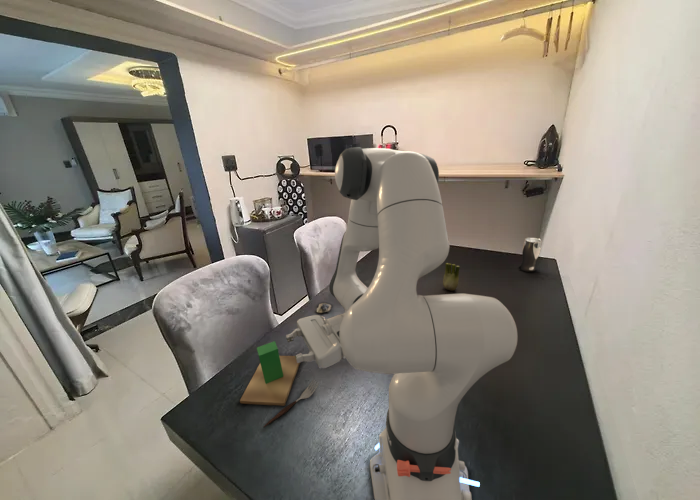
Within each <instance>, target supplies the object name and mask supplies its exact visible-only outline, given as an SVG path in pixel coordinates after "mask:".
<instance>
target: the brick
mask: <svg viewBox="0 0 700 500" xmlns="http://www.w3.org/2000/svg"><path fill="white" fill-rule="evenodd" d="M256 351H257V355H258V360H259V364H261V368H262V372H263V376H264V380H265V383H266V384H267V383H269V382H272V381H274V380H276V379H279V378H281V377H283V371H282V366H281V361H280V357H279V356H280V353H279V348H278V346H277V342H276V340H274V341H271V342H268V343H265V344H263V345H260V346H257V347H256Z"/></svg>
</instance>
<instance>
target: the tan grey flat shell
mask: <svg viewBox="0 0 700 500" xmlns="http://www.w3.org/2000/svg"><path fill="white" fill-rule="evenodd" d="M332 307H333V306H332V305H331V304H330V303H326V302H322V303H319V304H318V307H317V308H316V309H315V313H318V314H322V313H326V312H327V313H328V312H331V309H332Z"/></svg>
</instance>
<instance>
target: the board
mask: <svg viewBox="0 0 700 500" xmlns="http://www.w3.org/2000/svg"><path fill="white" fill-rule="evenodd" d="M295 356H296V355H279V357H280V361H281V366H282V371H283V377H281V378H279V379H276V380H274V381H272V382H269V383H267V384H266V383H265V380H264V376H263V372H262V368H261V364H260V363H259V365H258V366H257V368H256V370H255V372H254V373H253V375H252V377H251V379H250V380H249V383H248V384H247V386H246V388H245V390H244V392H243V394H242V395H241V398H240V399H239V404H244V405H264V406H283V407H286V403H287V401H288V398H289V396H290V392H291V389H292V387H293V384H294V381H295V380H296V379H295V378H296V375H297V373H298V370H299V367H300V364H301V362H300V363H297V361H296V358H295Z"/></svg>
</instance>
